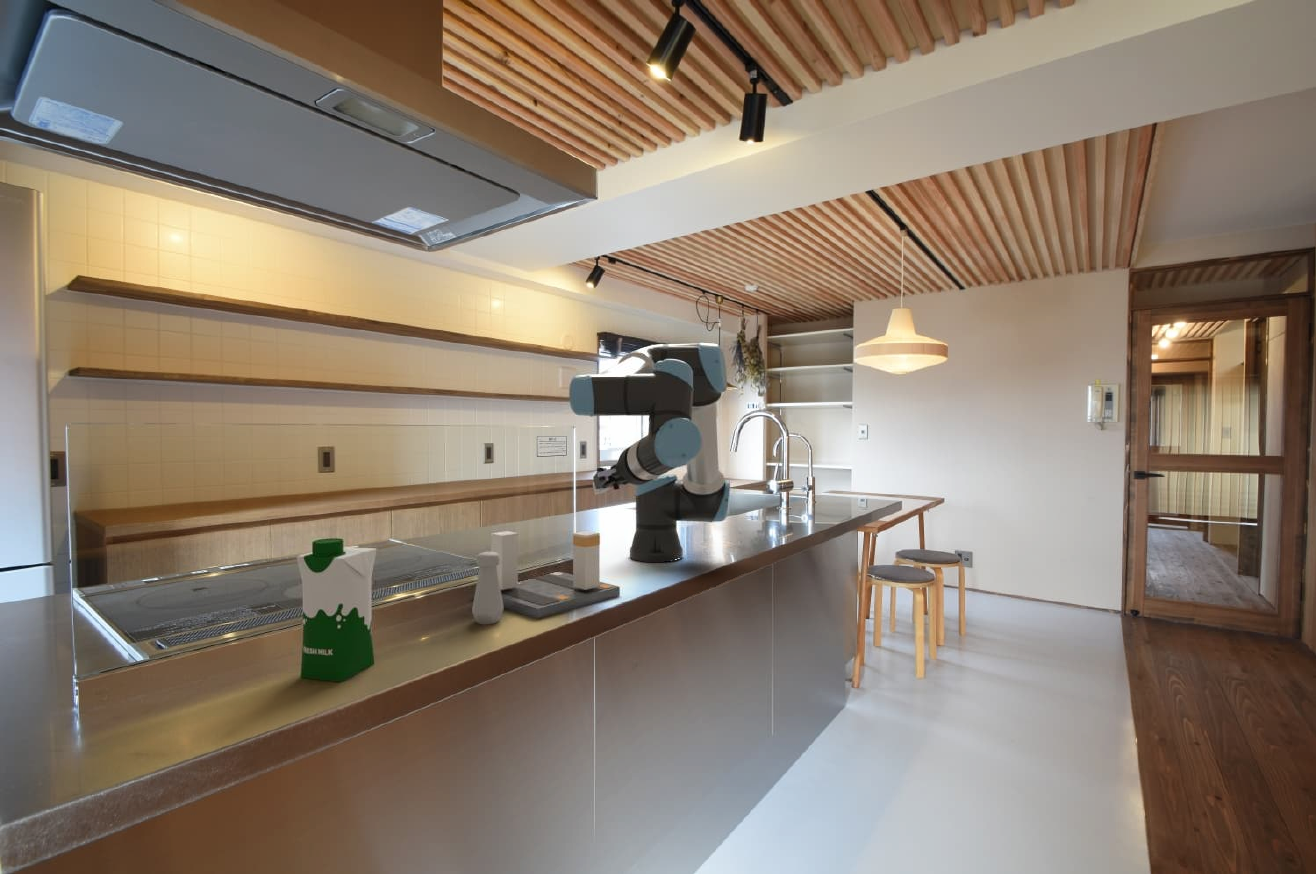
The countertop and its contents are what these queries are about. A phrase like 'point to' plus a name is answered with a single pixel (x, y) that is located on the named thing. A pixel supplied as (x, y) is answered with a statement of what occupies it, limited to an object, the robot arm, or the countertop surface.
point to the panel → (553, 595)
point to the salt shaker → (487, 590)
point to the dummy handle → (506, 558)
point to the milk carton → (336, 610)
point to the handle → (586, 559)
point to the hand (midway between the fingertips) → (596, 488)
